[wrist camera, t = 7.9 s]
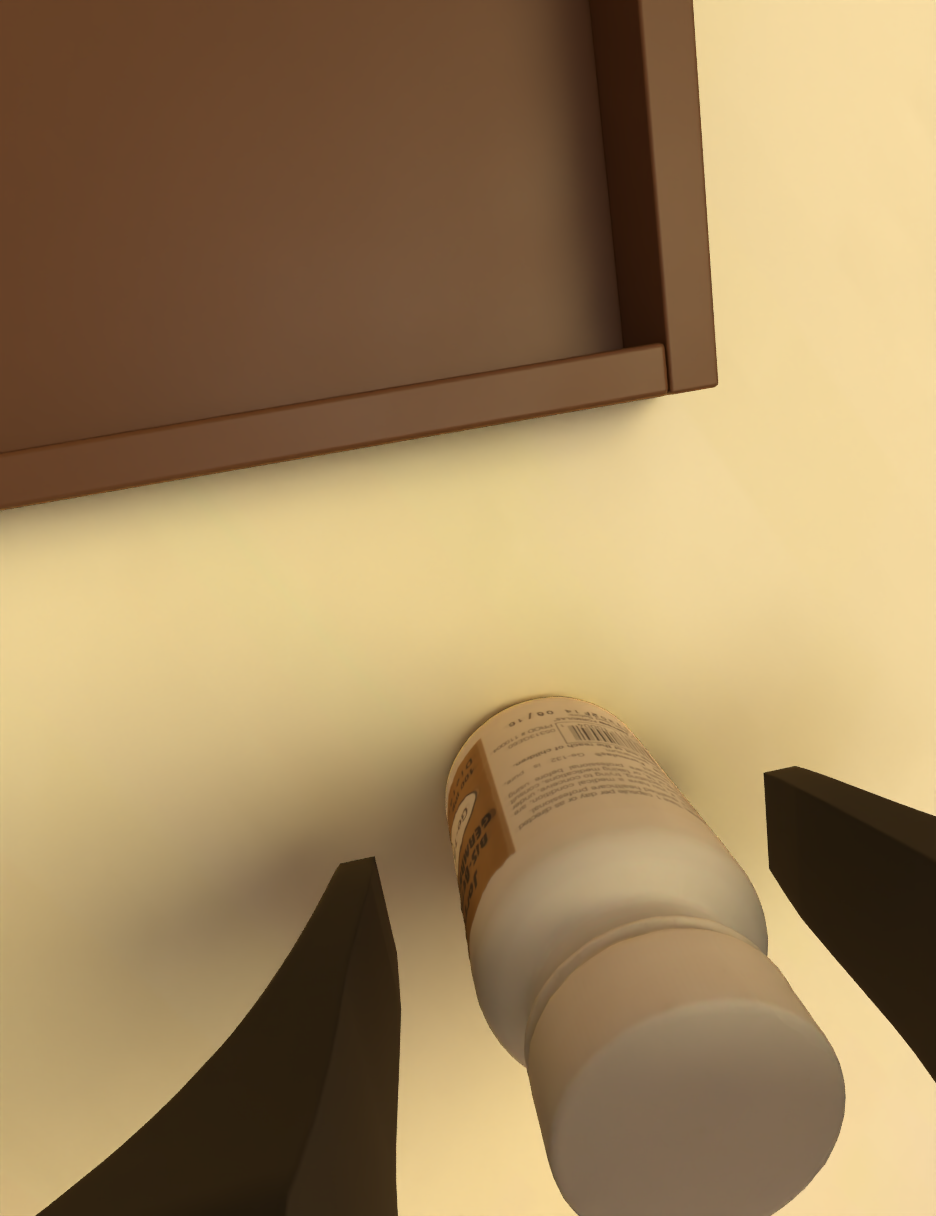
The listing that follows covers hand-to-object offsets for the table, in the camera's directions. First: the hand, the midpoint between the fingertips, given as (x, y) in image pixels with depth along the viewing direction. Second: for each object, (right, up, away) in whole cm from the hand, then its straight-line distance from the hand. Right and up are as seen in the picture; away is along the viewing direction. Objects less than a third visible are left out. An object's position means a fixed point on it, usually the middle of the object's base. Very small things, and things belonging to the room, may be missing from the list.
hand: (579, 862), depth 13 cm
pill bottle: (0, +1, +3) cm, 3 cm away
